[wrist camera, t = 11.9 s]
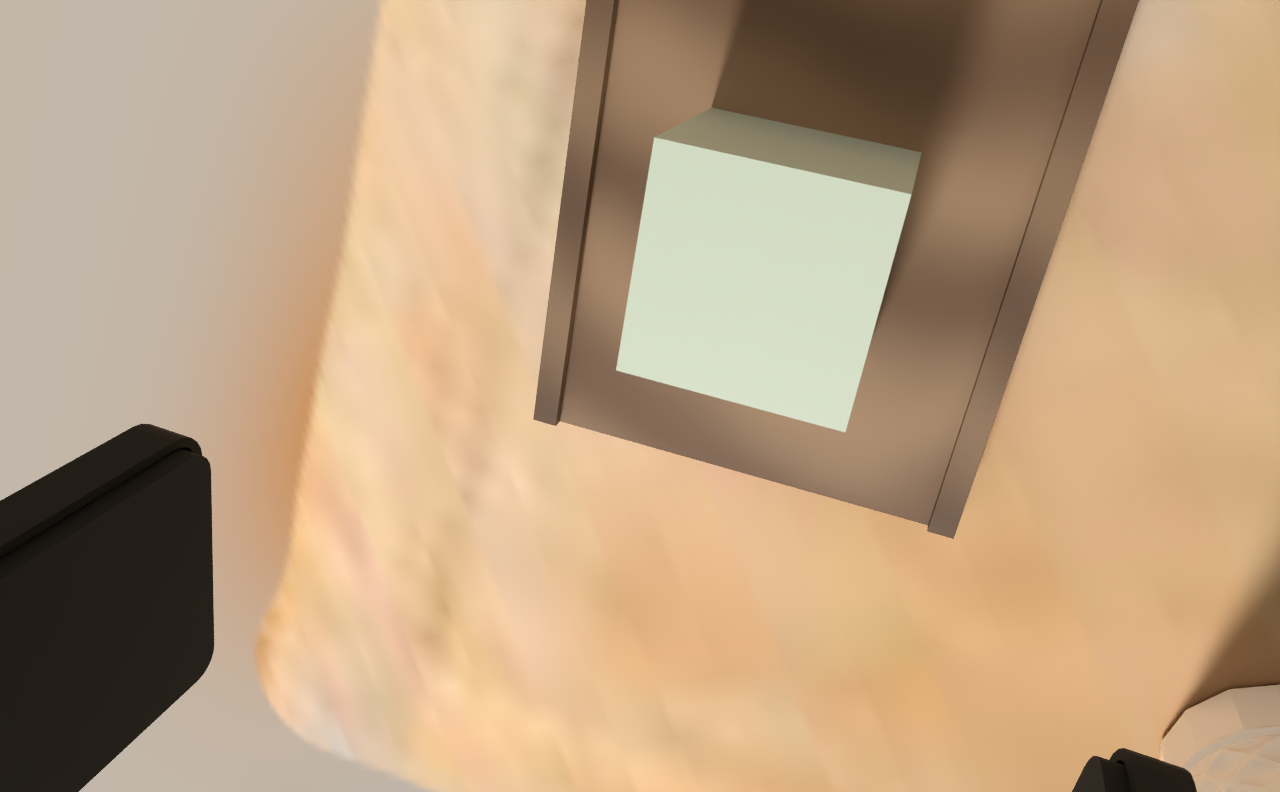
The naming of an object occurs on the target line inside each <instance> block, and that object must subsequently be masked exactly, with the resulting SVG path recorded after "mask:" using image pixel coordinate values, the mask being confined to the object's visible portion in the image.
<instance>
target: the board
mask: <svg viewBox="0 0 1280 792" xmlns="http://www.w3.org/2000/svg"><path fill="white" fill-rule="evenodd" d="M1138 1H1139V0H587V1H586V9H585V17H584V25H583V33H582V40H581V48H580V56H579V64H578V72H577V80H576V88H575V96H574V104H573V111H572V119H571V127H570V135H569V143H568V151H567V159H566V167H565V175H564V183H563V190H562V198H561V206H560V214H559V222H558V230H557V238H556V246H555V254H554V262H553V269H552V277H551V285H550V293H549V301H548V309H547V317H546V325H545V333H544V341H543V348H542V356H541V364H540V372H539V380H538V388H537V396H536V404H535V412H534V420H537V421H541V422H544V423H548V424H551V425H555V426H556V425H557V424H558V423H559V422H560V421H561V422H565V423H568V424H572V425H576V426H579V427H583V428H586V429H590V430H593V431H597V432H600V433H604V434H607V435H611V436H614V437H618V438H621V439H625V440H629V441H632V442H636V443H639V444H643V445H646V446H650V447H653V448H657V449H660V450H664V451H667V452H671V453H675V454H678V455H682V456H685V457H689V458H692V459H696V460H699V461H703V462H706V463H710V464H713V465H717V466H721V467H724V468H728V469H731V470H735V471H738V472H742V473H745V474H749V475H752V476H756V477H759V478H763V479H767V480H770V481H774V482H777V483H781V484H784V485H788V486H791V487H795V488H798V489H802V490H805V491H809V492H812V493H816V494H820V495H823V496H827V497H830V498H834V499H837V500H841V501H844V502H848V503H851V504H855V505H858V506H862V507H866V508H869V509H873V510H876V511H880V512H883V513H887V514H890V515H894V516H897V517H901V518H904V519H908V520H912V521H915V522H919V523H922V524H926V525H928V532H932V533H935V534H939V535H942V536H946V537H949V538H953V539H954V536H955V533H956V530H957V527H958V524H959V521H960V518H961V515H962V512H963V510H964V507H965V504H966V501H967V498H968V495H969V492H970V489H971V486H972V483H973V481H974V478H975V475H976V472H977V469H978V466H979V463H980V460H981V457H982V454H983V452H984V449H985V446H986V443H987V440H988V437H989V434H990V431H991V428H992V425H993V422H994V420H995V417H996V414H997V411H998V408H999V405H1000V402H1001V399H1002V396H1003V393H1004V391H1005V388H1006V385H1007V382H1008V379H1009V376H1010V373H1011V370H1012V367H1013V364H1014V361H1015V359H1016V356H1017V353H1018V350H1019V347H1020V344H1021V341H1022V338H1023V335H1024V332H1025V330H1026V327H1027V324H1028V321H1029V318H1030V315H1031V312H1032V309H1033V306H1034V303H1035V301H1036V298H1037V295H1038V292H1039V289H1040V286H1041V283H1042V280H1043V277H1044V274H1045V271H1046V269H1047V266H1048V263H1049V260H1050V257H1051V254H1052V251H1053V248H1054V245H1055V242H1056V240H1057V237H1058V234H1059V231H1060V228H1061V225H1062V222H1063V219H1064V216H1065V213H1066V211H1067V208H1068V205H1069V202H1070V199H1071V196H1072V193H1073V190H1074V187H1075V184H1076V181H1077V179H1078V176H1079V173H1080V170H1081V167H1082V164H1083V161H1084V158H1085V155H1086V152H1087V150H1088V147H1089V144H1090V141H1091V138H1092V135H1093V132H1094V129H1095V126H1096V123H1097V120H1098V118H1099V115H1100V112H1101V109H1102V106H1103V103H1104V100H1105V97H1106V94H1107V91H1108V89H1109V86H1110V83H1111V80H1112V77H1113V74H1114V71H1115V68H1116V65H1117V62H1118V60H1119V57H1120V54H1121V51H1122V48H1123V45H1124V42H1125V39H1126V36H1127V33H1128V30H1129V28H1130V25H1131V22H1132V19H1133V16H1134V13H1135V10H1136V7H1137V4H1138ZM710 108H716V109H720V110H725V111H730V112H734V113H739V114H744V115H749V116H753V117H758V118H763V119H767V120H772V121H777V122H781V123H786V124H791V125H796V126H800V127H805V128H810V129H814V130H819V131H824V132H828V133H833V134H838V135H842V136H847V137H852V138H857V139H861V140H866V141H871V142H875V143H880V144H885V145H889V146H894V147H899V148H904V149H908V150H913V151H918V152H922V153H921V158H920V162H919V166H918V170H917V174H916V178H915V182H914V187H913V191H912V195H911V198H910V202H909V206H908V209H907V213H906V216H905V220H904V224H903V227H902V231H901V234H900V238H899V242H898V245H897V249H896V252H895V256H894V260H893V263H892V267H891V270H890V274H889V278H888V281H887V285H886V288H885V292H884V296H883V299H882V303H881V306H880V310H879V313H878V317H877V321H876V324H875V328H874V331H873V335H872V339H871V342H870V346H869V349H868V353H867V357H866V360H865V364H864V367H863V371H862V375H861V378H860V382H859V385H858V389H857V393H856V396H855V400H854V403H853V407H852V411H851V414H850V418H849V421H848V425H847V429H846V432H841V431H838V430H834V429H830V428H827V427H823V426H819V425H816V424H812V423H808V422H805V421H801V420H797V419H794V418H790V417H786V416H782V415H779V414H775V413H771V412H768V411H764V410H760V409H757V408H753V407H749V406H746V405H742V404H738V403H734V402H731V401H727V400H723V399H720V398H716V397H712V396H709V395H705V394H701V393H698V392H694V391H690V390H687V389H683V388H679V387H675V386H672V385H668V384H664V383H661V382H657V381H653V380H650V379H646V378H642V377H639V376H635V375H631V374H627V373H624V372H620V371H616V367H617V361H618V355H619V349H620V343H621V337H622V331H623V324H624V318H625V312H626V306H627V300H628V294H629V288H630V282H631V276H632V270H633V264H634V257H635V251H636V245H637V239H638V233H639V227H640V221H641V215H642V209H643V203H644V196H645V190H646V184H647V178H648V172H649V166H650V160H651V154H652V148H653V142H654V137H656V136H658V135H660V134H662V133H664V132H665V131H667V130H669V129H671V128H673V127H675V126H677V125H679V124H681V123H683V122H685V121H687V120H689V119H690V118H692V117H694V116H696V115H698V114H700V113H702V112H704V111H706V110H708V109H710Z"/></svg>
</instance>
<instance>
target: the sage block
mask: <svg viewBox="0 0 1280 792" xmlns="http://www.w3.org/2000/svg"><path fill="white" fill-rule="evenodd" d="M921 153H922V152H918V151H913V150H908V149H904V148H899V147H894V146H889V145H885V144H880V143H875V142H871V141H866V140H861V139H857V138H852V137H847V136H842V135H838V134H833V133H828V132H824V131H819V130H814V129H810V128H805V127H800V126H796V125H791V124H786V123H781V122H777V121H772V120H767V119H763V118H758V117H753V116H749V115H744V114H739V113H734V112H730V111H725V110H720V109H716V108H710V109H708V110H706V111H704V112H702V113H700V114H698V115H696V116H694V117H692V118H690V119H689V120H687V121H685V122H683V123H681V124H679V125H677V126H675V127H673V128H671V129H669V130H667V131H665V132H664V133H662V134H660V135H658V136H656V137H654V142H653V148H652V154H651V160H650V166H649V172H648V178H647V184H646V190H645V196H644V203H643V209H642V215H641V221H640V227H639V233H638V239H637V245H636V251H635V257H634V264H633V270H632V276H631V282H630V288H629V294H628V300H627V306H626V312H625V318H624V324H623V331H622V337H621V343H620V349H619V355H618V361H617V367H616V371H620V372H624V373H627V374H631V375H635V376H639V377H642V378H646V379H650V380H653V381H657V382H661V383H664V384H668V385H672V386H675V387H679V388H683V389H687V390H690V391H694V392H698V393H701V394H705V395H709V396H712V397H716V398H720V399H723V400H727V401H731V402H734V403H738V404H742V405H746V406H749V407H753V408H757V409H760V410H764V411H768V412H771V413H775V414H779V415H782V416H786V417H790V418H794V419H797V420H801V421H805V422H808V423H812V424H816V425H819V426H823V427H827V428H830V429H834V430H838V431H841V432H846V429H847V425H848V421H849V418H850V414H851V411H852V407H853V403H854V400H855V396H856V393H857V389H858V385H859V382H860V378H861V375H862V371H863V367H864V364H865V360H866V357H867V353H868V349H869V346H870V342H871V339H872V335H873V331H874V328H875V324H876V321H877V317H878V313H879V310H880V306H881V303H882V299H883V296H884V292H885V288H886V285H887V281H888V278H889V274H890V270H891V267H892V263H893V260H894V256H895V252H896V249H897V245H898V242H899V238H900V234H901V231H902V227H903V224H904V220H905V216H906V213H907V209H908V206H909V202H910V198H911V195H912V191H913V187H914V182H915V178H916V174H917V170H918V166H919V162H920V158H921Z"/></svg>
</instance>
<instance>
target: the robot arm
mask: <svg viewBox="0 0 1280 792" xmlns="http://www.w3.org/2000/svg"><path fill="white" fill-rule="evenodd" d="M211 505H212V504H211V468H210V463H209V462H208V460H207V458H205V457H204V456H202V452H201V448H200V446H199V444H198V443H197V442H196V441H195V440H193V439H192V438H189V437H186V436H184V435H180V434H177V433H175V432H172V431H169V430H166V429H163V428H160V427H156V426H154V425H151V424H140V425H137V426H135V427H132V428H130V429H129V430H127V431H125V432H123V433H121V434H120V435H118V436H116V437H114V438H112V439H111V440H109V441H107V442H105V443H104V444H102V445H100V446H98V447H96V448H95V449H93V450H91V451H89V452H87V453H85V454H84V455H82V456H80V457H78V458H76V459H75V460H73V461H71V462H69V463H67V464H66V465H64V466H62V467H60V468H59V469H57V470H55V471H53V472H51V473H50V474H48V475H46V476H44V477H42V478H41V479H39V480H37V481H35V482H34V483H32V484H30V485H28V486H26V487H25V488H23V489H21V490H19V491H17V492H15V493H14V494H12V495H10V496H8V497H6V498H5V499H3V500H1V501H0V792H79V791H80V790H81V789H82V788H83V787H84V786H85V785H86V784H87V783H88V782H89V781H90V780H91V779H93V778H94V777H95V776H96V775H97V774H98V773H99V772H100V771H101V770H102V769H103V768H104V767H105V766H106V765H108V764H109V763H110V762H111V761H112V760H113V759H114V758H115V757H116V756H117V755H118V754H119V753H120V752H122V751H123V750H124V749H125V748H126V747H127V746H128V745H129V744H130V743H131V742H132V741H133V740H134V739H135V738H137V737H138V736H139V735H140V734H141V733H142V732H143V731H144V730H145V729H146V728H147V727H148V726H150V725H151V724H152V723H153V722H154V721H155V720H156V719H157V718H158V717H159V716H160V715H161V714H162V713H163V712H165V711H166V710H167V709H168V708H169V707H170V706H171V705H172V704H173V703H174V702H175V701H176V700H177V699H179V697H181V696H182V695H183V694H184V693H185V692H186V691H187V690H188V689H189V688H190V687H191V686H192V685H193V684H194V683H196V682H197V681H198V680H199V678H200V677H201V676H202V675H203V674H204V672H205V671H206V669H207V667H208V665H209V663H210V661H211V658H212V654H213V650H214V617H213V616H214V615H213V565H212V564H213V563H212V562H213V560H212V506H211ZM1072 792H1197V790H1196V786H1195V782H1194V780H1193V777H1192V775H1191V773H1190V772H1189V771H1188V770H1186V769H1185V768H1182V767H1179V766H1176V765H1173V764H1170V763H1167V762H1164V761H1161V760H1158V759H1155V758H1152V757H1149V756H1146V755H1143V754H1140V753H1137V752H1134V751H1131V750H1128V749H1125V748H1122V749H1118V750H1117V751H1116V752H1115V753H1113V755H1112V756H1111V758H1110V760H1107V759H1104V758H1101V757H1098V756H1093V757H1092V758H1090V759H1089V760H1088V762H1087V764H1086V765H1085V767H1084V769H1083V771H1082V773H1081V775H1080V777H1079V779H1078V781H1077V783H1076V785H1075V787H1074V789H1073V791H1072Z"/></svg>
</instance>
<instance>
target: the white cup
mask: <svg viewBox="0 0 1280 792" xmlns="http://www.w3.org/2000/svg"><path fill="white" fill-rule="evenodd" d="M1160 760H1161V761H1164V762H1167V763H1170V764H1173V765H1176V766H1179V767H1182V768H1185V769H1186V770H1188V771H1189V772H1190V773H1191V775H1192V777H1193V780H1194V782H1195V786H1196V790H1197V792H1280V685H1269V686H1258V687H1247V688H1236V689H1228V690H1226V691H1224V692H1222V693H1220V694H1218V695H1216V696H1213V697H1211V698H1209V699H1207V700H1205V701H1203V702H1201V703H1199V704H1197V705H1195V706H1193V707H1191V708H1189V709H1187V710H1185V712H1184V713H1183V714H1182V716H1181V717H1180V718H1179V719H1178V721H1177V722H1176V723H1175V724H1174V726H1173V727H1172V728H1171V730H1170V731H1169V732H1168V733H1167V735H1166V736H1165V737H1164V738H1163V740H1162V741H1161V747H1160Z"/></svg>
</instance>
